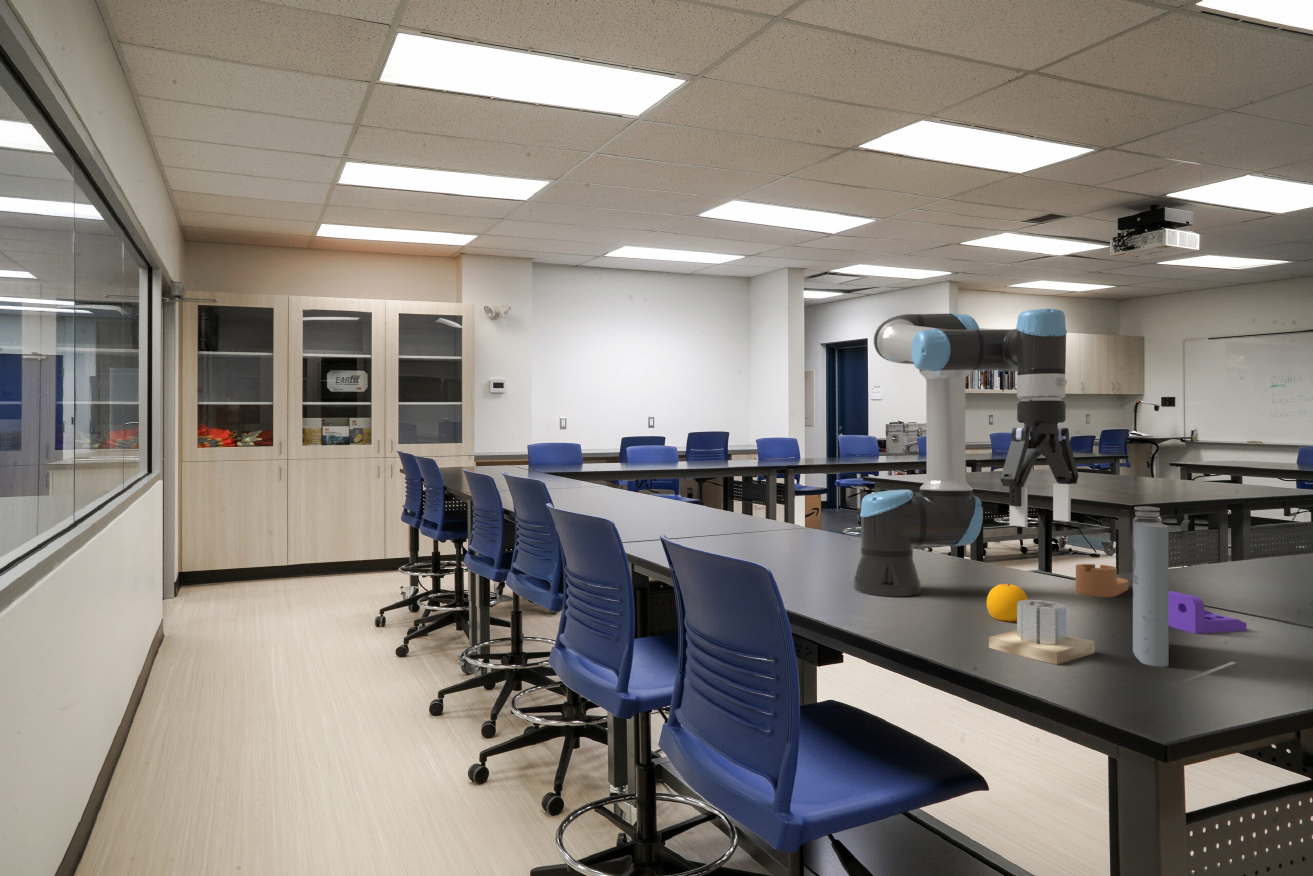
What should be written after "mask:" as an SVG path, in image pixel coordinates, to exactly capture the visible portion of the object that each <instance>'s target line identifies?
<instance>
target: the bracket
mask: <svg viewBox="0 0 1313 876" xmlns="http://www.w3.org/2000/svg"><path fill="white" fill-rule="evenodd" d="M1168 627H1171V628H1174V629H1177V630H1181V631H1185V632H1189V633H1192V634H1195V635H1197V634H1199V635H1200V634H1213V633H1215V634H1216V633H1228V632H1229V633H1230V632H1243V631H1244V632H1246V631H1247V622H1245V621H1242V620H1240V619H1237V618H1233V617H1228V616H1225V615H1221V614H1217V613H1214V612H1210V611H1209V610H1207V609H1206V610H1205V604H1204V602H1203V600H1202V598H1200V597H1199V596H1196V595H1192V594H1187V593H1184V592H1183V593H1182V592H1178V591H1172V590H1168Z"/></svg>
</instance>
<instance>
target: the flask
mask: <svg viewBox="0 0 1313 876" xmlns="http://www.w3.org/2000/svg"><path fill="white" fill-rule="evenodd" d="M1133 508H1134V510H1135V512H1134V514H1135V516H1134V518H1132V652H1133V655H1134V656H1135V657H1136V659H1137V660H1138V661H1139V662H1140V663H1142V664H1143V665H1147V666H1151V667H1160V668H1161V667H1162V668H1166V667H1169V626H1168V591H1169V525H1167V524H1164V523H1162V518H1161V517H1160V509H1161V508H1160V507H1156V506H1155V507H1154V506H1134V507H1133Z"/></svg>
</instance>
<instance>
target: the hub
mask: <svg viewBox="0 0 1313 876" xmlns="http://www.w3.org/2000/svg"><path fill="white" fill-rule="evenodd" d="M1035 603H1044V604H1047V605H1048V607H1045V606H1035ZM1016 630H1017V637H1018V638H1019V639H1021V640H1023V641H1027V642H1031V643H1036V644H1037V643H1039V644H1048V645H1055V644H1057V645H1059V644H1062V643H1066V636H1067V606H1066V605H1065V604H1063V603H1060V602H1055V601H1050V600H1043V599H1039V600H1038V599H1028V600H1023V601H1018V602H1017V622H1016Z"/></svg>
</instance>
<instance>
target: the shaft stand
mask: <svg viewBox="0 0 1313 876" xmlns="http://www.w3.org/2000/svg"><path fill="white" fill-rule="evenodd" d="M1035 606H1045V607H1048V605H1047V604H1044V603H1035ZM1095 643H1096V642H1095V640H1090V639H1085V638H1080V637H1074V636H1070V635H1066V643H1062V644H1059V645H1057V644H1055V645H1048V644H1039V643H1037V644H1036V643H1031V642H1027V641H1023V640H1021V639H1019V638H1018V637H1017V629H1016V630H1012V631H1007V632H1003V633H998V634H995V635H992V636H991V635H990V636H988V649H993V650H997V651H1000V652H1004V653H1008V654H1012V655H1015V656H1018V657H1023V658H1027V659H1031V660H1036V661H1040V662H1043V663H1048V664H1052V665H1056V666H1057V665H1060V664H1063V663H1066V662H1071V661H1074V660H1077V659H1080V658H1083V657H1086V656H1090V655H1093V654H1095V653H1096V652H1095V651H1096V650H1095V649H1096V645H1095Z"/></svg>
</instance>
